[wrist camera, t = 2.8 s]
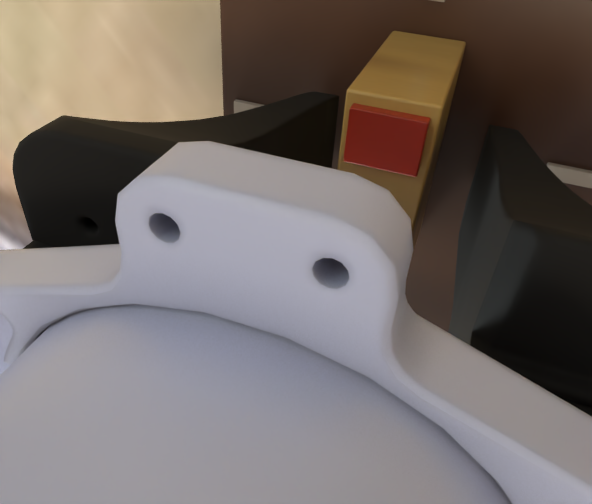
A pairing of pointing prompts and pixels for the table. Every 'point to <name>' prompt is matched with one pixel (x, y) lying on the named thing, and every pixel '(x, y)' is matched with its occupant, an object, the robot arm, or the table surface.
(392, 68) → the tan red block
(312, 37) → the lock plate
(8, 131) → the table surface
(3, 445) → the robot arm
